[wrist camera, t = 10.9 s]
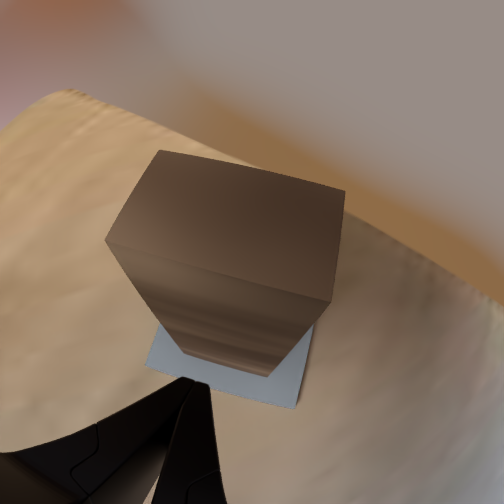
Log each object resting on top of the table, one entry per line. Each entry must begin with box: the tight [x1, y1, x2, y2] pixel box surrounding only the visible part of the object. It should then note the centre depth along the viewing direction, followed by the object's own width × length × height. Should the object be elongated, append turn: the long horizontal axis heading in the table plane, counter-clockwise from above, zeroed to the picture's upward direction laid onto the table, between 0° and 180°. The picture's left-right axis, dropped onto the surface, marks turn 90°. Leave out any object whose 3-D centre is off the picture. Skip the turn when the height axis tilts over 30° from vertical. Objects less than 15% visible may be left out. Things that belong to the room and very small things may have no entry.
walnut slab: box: [105, 150, 345, 377], centre depth 12 cm, size 3×5×12 cm, turn 75°
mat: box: [145, 323, 314, 409], centre depth 20 cm, size 14×9×1 cm, turn 165°
